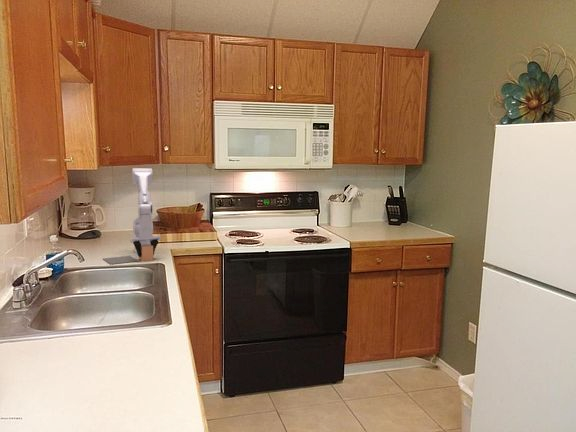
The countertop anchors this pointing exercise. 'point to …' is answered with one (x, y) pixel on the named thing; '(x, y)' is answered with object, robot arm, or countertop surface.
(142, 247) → the orange brown block
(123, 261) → the mat
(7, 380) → the countertop surface
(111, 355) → the countertop surface
